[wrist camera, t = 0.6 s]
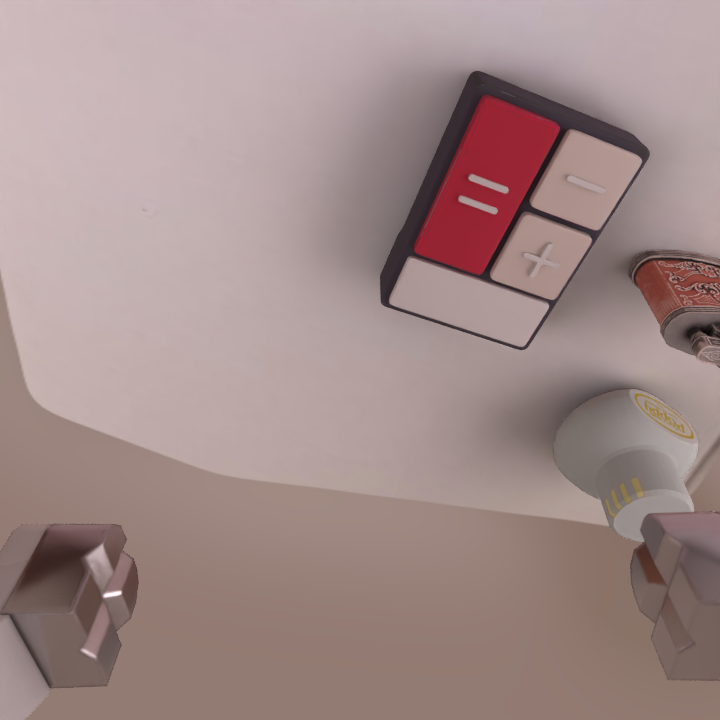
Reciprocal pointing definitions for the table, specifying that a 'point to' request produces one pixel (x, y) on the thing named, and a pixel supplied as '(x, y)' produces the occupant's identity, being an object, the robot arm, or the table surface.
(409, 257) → the calculator
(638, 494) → the air freshener
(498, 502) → the table surface
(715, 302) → the lighter
